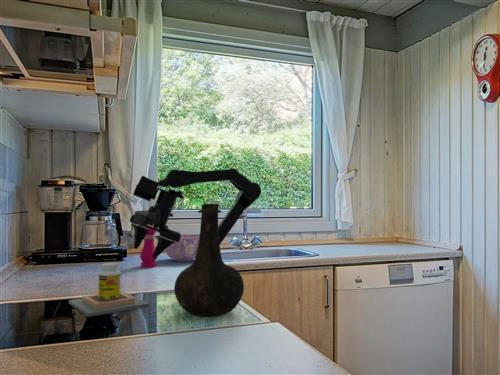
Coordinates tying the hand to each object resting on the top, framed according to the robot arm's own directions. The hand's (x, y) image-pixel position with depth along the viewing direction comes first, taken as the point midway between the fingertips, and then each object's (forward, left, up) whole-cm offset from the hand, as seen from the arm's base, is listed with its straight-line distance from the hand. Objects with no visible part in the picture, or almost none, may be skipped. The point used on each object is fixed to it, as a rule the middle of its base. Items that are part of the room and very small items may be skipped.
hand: (144, 253), depth 125 cm
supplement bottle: (-2, +17, -11) cm, 20 cm away
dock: (-2, +17, -12) cm, 21 cm away
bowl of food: (+26, -60, -12) cm, 66 cm away
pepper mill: (+29, -38, -12) cm, 49 cm away
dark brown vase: (-30, +11, -12) cm, 34 cm away
